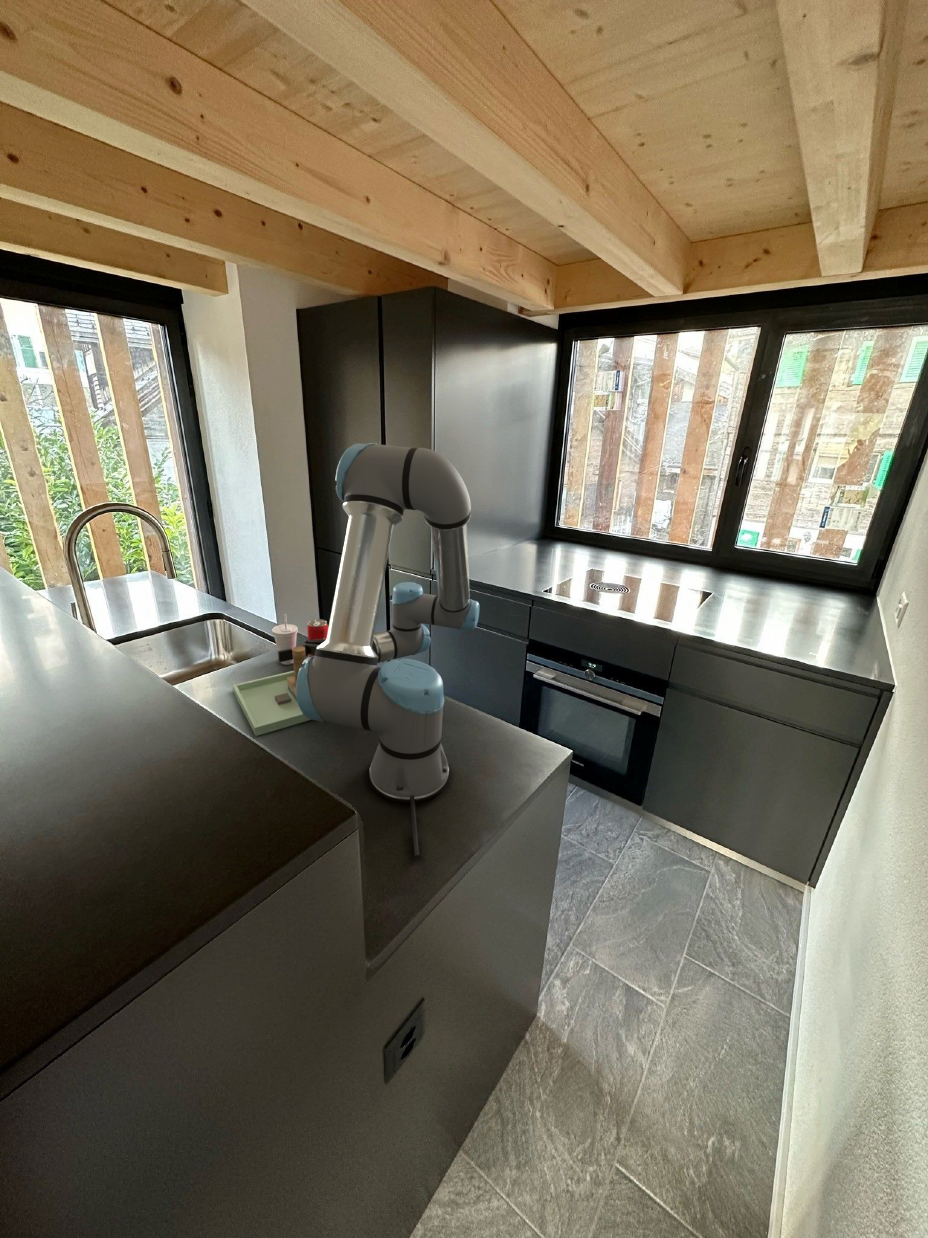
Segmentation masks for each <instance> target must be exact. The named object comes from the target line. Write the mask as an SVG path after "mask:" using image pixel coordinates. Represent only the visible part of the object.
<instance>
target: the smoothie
mask: <svg viewBox="0 0 928 1238" xmlns="http://www.w3.org/2000/svg"><path fill="white" fill-rule="evenodd" d="M283 621H284V623H282V624H278V625H276V626H274V627H273V628H272V629H271V632H272V635H273V636H274V641H275V645H276V649H277V652H278V651H281V650H285V649H290V648H294V647H296V646H297V635H298V632H299V629H298V626H297V625H295V624H291V623H288V620H287V613H283ZM280 664H282V665H285V666H287V665H289V666H290V665H292V664H293V660H288V661H284V662H280Z"/></svg>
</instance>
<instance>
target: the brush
mask: <svg viewBox="0 0 928 1238" xmlns="http://www.w3.org/2000/svg"><path fill="white" fill-rule="evenodd" d="M303 646H304V645H296V647H294V648H293V649H292V652H293V663H292V664H293V671H294V676H292V677H288V678H287V684H288V689H289V691H290V692H291V694H292V695H293V697H294V698H295V700H296V701H297V696H296V682H297V679H296V676H298V672H299V669H300V668H302V663H303V662H304V660H305V659H307V657H306V654H305V647H303ZM297 703H298V702H297Z"/></svg>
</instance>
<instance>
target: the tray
mask: <svg viewBox="0 0 928 1238" xmlns="http://www.w3.org/2000/svg"><path fill="white" fill-rule="evenodd" d="M292 676H294V670H291V671H287V672H281V673H278V674H274V675H270V676H265V677H261V678H257V679H252V680H249V681H244V682H240V683H236V684H232V691H233V694H234V697H235V698H236V701H237V702H238V704H239V707H240V708H241V710H242V712H243V714H244V716H245V718H246V720H247V723H248V724H249V727H250V728H251V730H252V732H253V734H254V736H255V737H257V736H262V735H264V734H268V733H271V732H274V731H278V730H281V729H284V728H288V727H291V726H295V725H299V724H301V723H305V722H308V721H313V720H312V719H309V718H307V717H306V716H305V715H304V714H303V713H302V712H301V710H300V707H299V705H298V703H297V701H296V700H295V698H294V697H293V695H292V694H291V692H290V691H289V689H288V684H287V678H288V677H292ZM285 693H288V695H289V696H290V698H291V702H288V703H284V704H281V705H278V703H277V702H276V700H275V696H277V695H281V694H285Z"/></svg>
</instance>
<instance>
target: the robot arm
mask: <svg viewBox="0 0 928 1238" xmlns="http://www.w3.org/2000/svg"><path fill="white" fill-rule="evenodd" d="M335 482H336V485H335V491H336V492H335V493H336V495H337V497H338V499H339V500H340V501H341V502H343V503H342V509H343V511H344V512H345V514H346V515H347V516H348V521H347V525H346V531H345V535H344V536H345V537H344V543H343V547H342V552H341V558H340V563H339V569H338V574H337V578H336V585H335V590H334V596H333V600H332V606H331V611H330V615H329V616H330V617H329V623H328V632H327V638H326V640H308V639H305V640H304V643H303V645H302V646H303V647H305V654H306V659H305V660H304V662H303V663H302V668H300V669H299V672H298V676H296V679H297V682H296V696H297V702H298V705H299V707H300V710H301V712H302V713H303V714H304V715H305V716H306V717H307V718H309V719H312V720H311V721H316V722H319V723H320V722H321V723H322V724H325V725H331V724H332V725H336V726H342V727H346V728H347V727H348V728H353V729H358V730H362V731H368V732H369V731H370V732H375V733H378V745H377V747H376V750H375V753H374V756H373V758H372V760H371V762H370V767H369V783H370V785H371V787H372V789H373V790H374V792H376V794H377V795H379V796H380V797H382V798H383V799H385V800H387V801H389V802H393V803H397V804H403V805H404V804H405V805H406V804H407V805H409V804H410V815H411V827H412V828H411V830H412V840H413V851H414V853H413V854H414V858H415V859H419V858H420V848H419V839H418V827H417V815H416V804H420V803H423V802H427V801H430V800H432V799H434V798H436V797H437V796H438V795H439V794H441V793H442V792H443V791H444V789H445V788H446V787H447V785H448V781H449V776H450V775H449V774H450V767H449V762H448V759H447V757H446V754H445V750H444V748H443V744H442V734H443V732H442V730H443V716H444V706H445V696H444V695H445V694H444V681H443V679H442V676H441V675H440V674H439V672H438V671H437V670H436V669H435V668H434V667H432V666H430V664H427V663H425V662H423V661H420V660H415V659H411V658H405V657H409V656H415V655H417V654H421V653H423V652H426V651H427V650H428V649H429V648H430V646H431V642H432V641H431V640H432V639H431V637H430V631H429V629H428V627H427V626H426V625H431V626H436V627H444V628H449V629H455V630H456V629H457V630H467V631H468V630H469V631H472V630H475V629H476V628H477V625H478V622H479V617H480V603H479V601H477V600H473V599H471V598H470V597H471V596H470V594H471V593H470V571H469V570H470V569H469V552H468V551H469V549H468V545H469V544H468V526H467V524H468V523H469V522H470V520H471V517H472V504H471V497H470V494H469V491H468V488H467V485H466V483H465V482H464V480H463V478H462V476H461V474H460V473H459V471H458V470H457V469H456V467H455V466H454V464H452V462H450V461H449V460H448V459H447V458H446V457H445V456H443V455H442V454H441V453H439V452H437V451H435V450H432V449H430V448H426V447H411V446H410V447H409V446H399V445H398V446H397V445H388V444H378V443H377V442H369V443H354V444H352V445H351V446H349V447H348V448H347V449H346V450H345V451H343V454H342V455H341V457H340V460H339V462H338V464H337V468H336V473H335ZM406 510H410V511H419V512H421V513H423V518H424V519H423V520H424V522H425V523H426V524H427V526H429V527H430V528H429V529H430V535H431V536H430V537H431V544H432V552H433V561H434V568H435V569H434V570H435V576H436V584H437V593H438V595H434V594H428V593H424V591H423V590H424V589H423V587H422V585H420V584H419V583H416V582H412V581H405V582H404V581H403V582H399V583H396V585H395V586H394V587H393V589H392V599H391V618H392V619H391V621H392V622H391V624H392V626H391V629H390V630H385V631H380V632H376V626H377V621H378V615H379V610H380V604H381V597H382V593H383V587H384V583H385V582H384V581H385V575H386V570H387V564H388V558H389V553H390V548H391V541H392V536H393V530H394V527H395V526H396V525H398V524H400V523H402V522H403V519H404V514H405V513H404V512H405V511H406ZM375 632H376V633H375ZM292 649H293V648H290V649H285V650H281V651H278V650H277V656H278V662H279V663H281V662H284V661H288V660H293V652H292ZM309 654H310V655H315V656H311V657H309ZM397 659H399V660H397ZM380 663H383V665H381V666H380V667H379V666H378V664H380Z"/></svg>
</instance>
